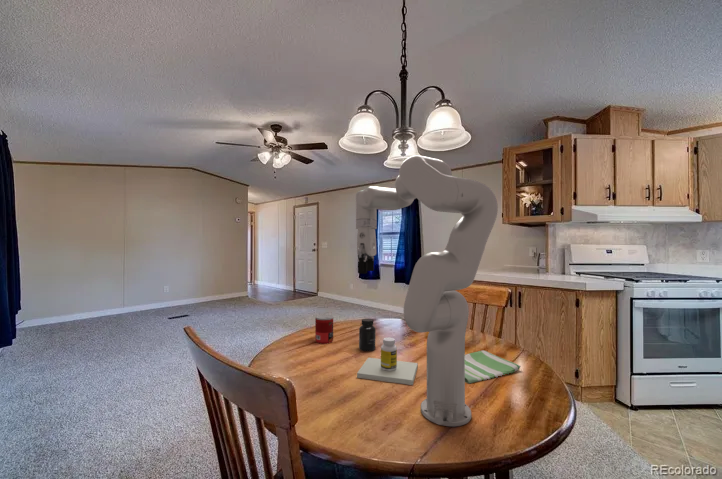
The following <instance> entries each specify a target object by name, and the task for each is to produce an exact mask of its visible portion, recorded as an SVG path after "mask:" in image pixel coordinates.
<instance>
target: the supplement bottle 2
mask: <svg viewBox="0 0 722 479" xmlns="http://www.w3.org/2000/svg"><path fill="white" fill-rule="evenodd" d="M397 355H398V348H397V345H396V339H395V338H394V337H389V336H388V337H384V338H383V339H382V345H381V346H380V359H381V368H382V369H383V370H386V371H393V370H395V369H396V368H397V361H398V360H397V359H398V356H397Z"/></svg>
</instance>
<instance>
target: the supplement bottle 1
mask: <svg viewBox="0 0 722 479" xmlns="http://www.w3.org/2000/svg"><path fill="white" fill-rule="evenodd" d="M358 328H359V329H358V348H359V350H360V351H361V352H362V351H363V352H373V351H375V349H376V332H377V330H376V327H375V326H374V319H372V318H362V319H361V325H360V326H359V327H358Z"/></svg>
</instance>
